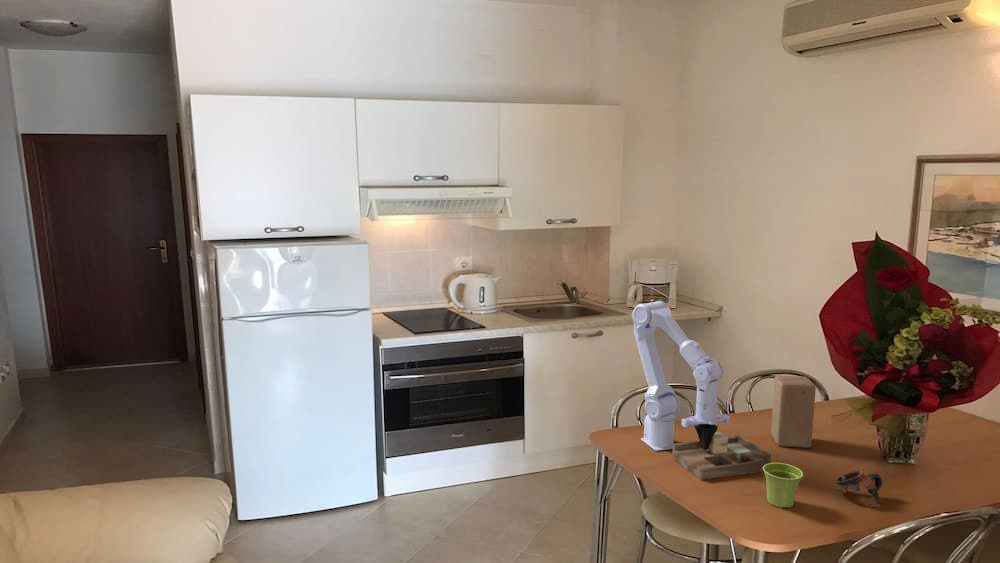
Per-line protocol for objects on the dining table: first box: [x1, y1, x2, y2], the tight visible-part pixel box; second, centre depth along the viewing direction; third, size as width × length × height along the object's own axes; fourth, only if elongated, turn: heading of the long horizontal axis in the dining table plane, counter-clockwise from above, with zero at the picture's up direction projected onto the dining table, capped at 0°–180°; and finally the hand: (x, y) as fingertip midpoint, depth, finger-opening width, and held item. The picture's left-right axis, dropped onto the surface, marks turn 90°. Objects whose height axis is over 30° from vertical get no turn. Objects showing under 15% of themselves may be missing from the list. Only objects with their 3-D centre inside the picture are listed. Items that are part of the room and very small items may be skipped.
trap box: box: [671, 434, 772, 481], centre depth 197 cm, size 15×22×5 cm
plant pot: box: [763, 462, 804, 509], centre depth 174 cm, size 9×9×9 cm
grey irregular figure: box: [834, 470, 883, 509], centre depth 178 cm, size 12×10×8 cm
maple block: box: [707, 431, 728, 454], centre depth 200 cm, size 4×4×4 cm
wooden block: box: [770, 375, 817, 449], centre depth 213 cm, size 10×10×20 cm
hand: (704, 448), depth 199 cm, fingers closed
